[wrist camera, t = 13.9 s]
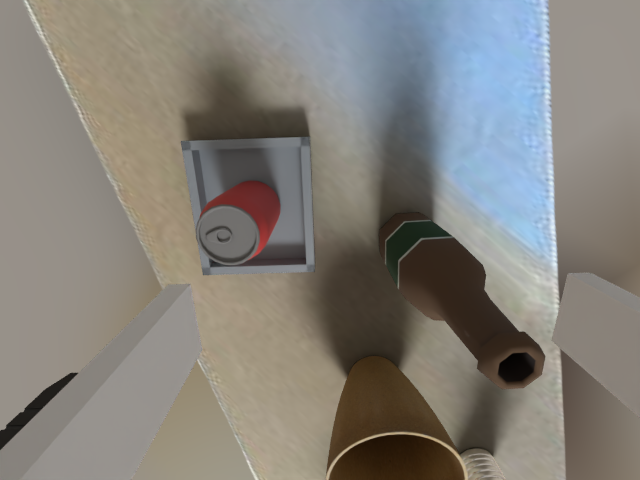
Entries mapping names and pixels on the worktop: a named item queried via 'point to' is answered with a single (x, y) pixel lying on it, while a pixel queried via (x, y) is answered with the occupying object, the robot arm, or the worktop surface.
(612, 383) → the robot arm
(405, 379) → the plant pot
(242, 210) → the beer can
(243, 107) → the worktop surface
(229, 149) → the tray
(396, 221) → the beer bottle
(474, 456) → the water bottle
